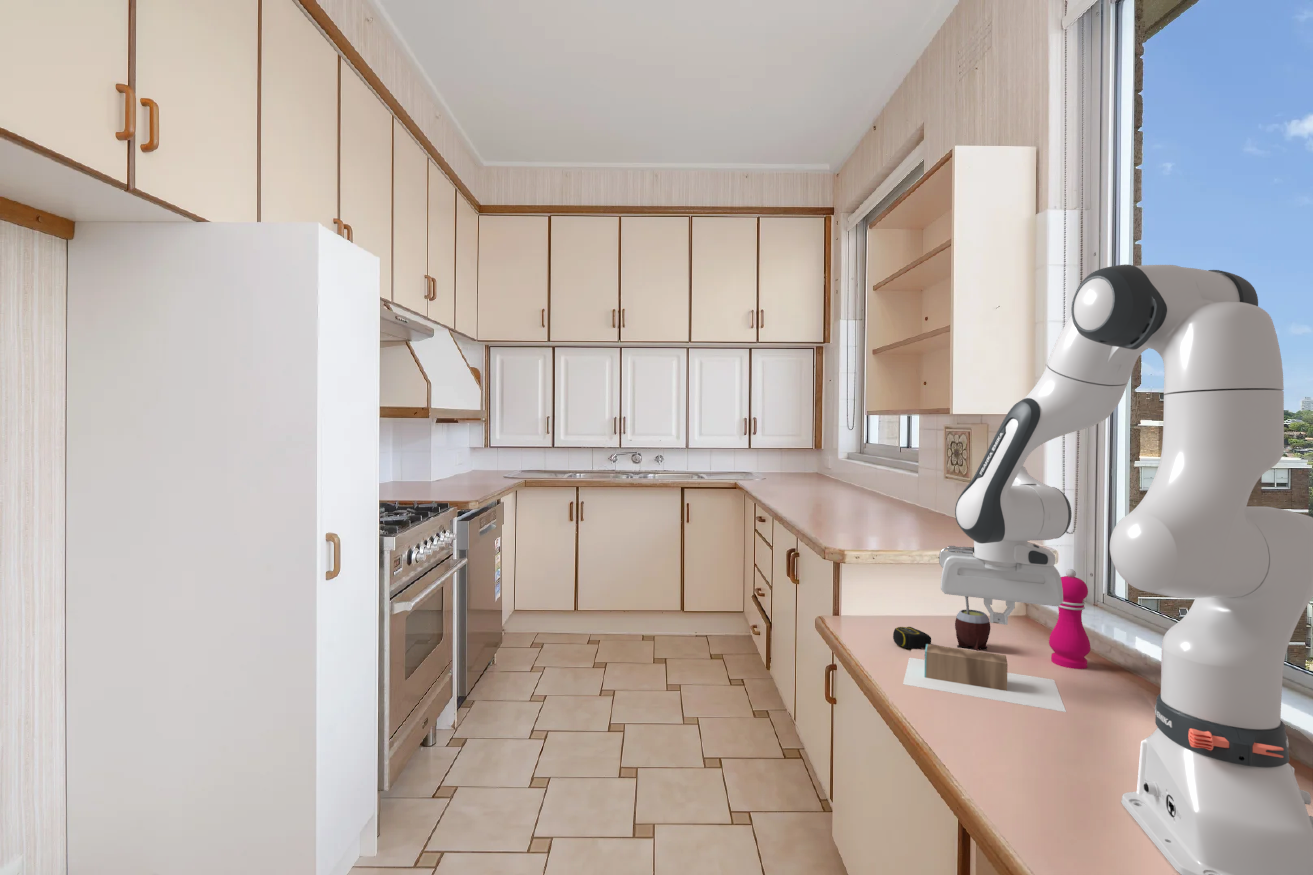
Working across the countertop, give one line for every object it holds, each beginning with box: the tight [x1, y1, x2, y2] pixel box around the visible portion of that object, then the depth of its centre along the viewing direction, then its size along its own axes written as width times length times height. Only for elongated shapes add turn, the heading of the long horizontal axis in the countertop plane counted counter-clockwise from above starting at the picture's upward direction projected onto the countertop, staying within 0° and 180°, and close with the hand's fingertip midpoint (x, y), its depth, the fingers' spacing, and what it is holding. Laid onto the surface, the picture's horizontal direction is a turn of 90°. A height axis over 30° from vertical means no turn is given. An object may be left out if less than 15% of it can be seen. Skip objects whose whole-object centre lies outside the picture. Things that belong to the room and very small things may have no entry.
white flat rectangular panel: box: [902, 657, 1067, 713], centre depth 122 cm, size 16×26×1 cm, turn 65°
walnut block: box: [924, 644, 1009, 691], centre depth 123 cm, size 5×5×14 cm
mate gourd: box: [954, 596, 991, 652], centre depth 142 cm, size 8×8×15 cm
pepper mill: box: [1048, 568, 1091, 670], centre depth 132 cm, size 7×7×20 cm
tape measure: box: [892, 626, 932, 650], centre depth 144 cm, size 7×7×4 cm
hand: (998, 623), depth 120 cm, fingers closed
